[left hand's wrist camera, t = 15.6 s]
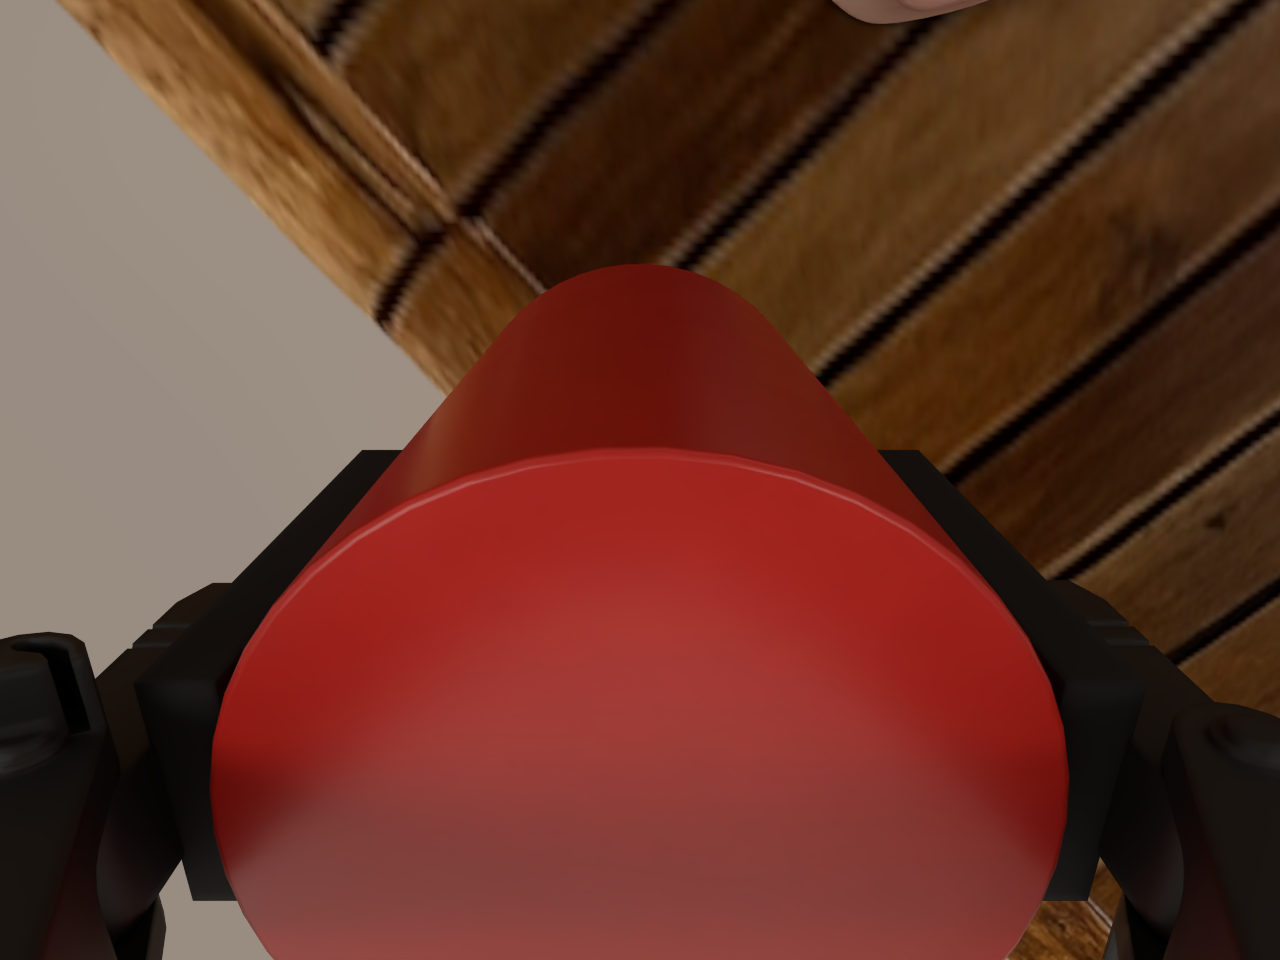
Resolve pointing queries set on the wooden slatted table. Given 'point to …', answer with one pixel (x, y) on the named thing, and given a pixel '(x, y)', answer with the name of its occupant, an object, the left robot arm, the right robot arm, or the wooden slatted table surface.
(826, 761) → the tin
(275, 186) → the wooden slatted table surface
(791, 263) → the wooden slatted table surface
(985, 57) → the wooden slatted table surface
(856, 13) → the anatomical model
